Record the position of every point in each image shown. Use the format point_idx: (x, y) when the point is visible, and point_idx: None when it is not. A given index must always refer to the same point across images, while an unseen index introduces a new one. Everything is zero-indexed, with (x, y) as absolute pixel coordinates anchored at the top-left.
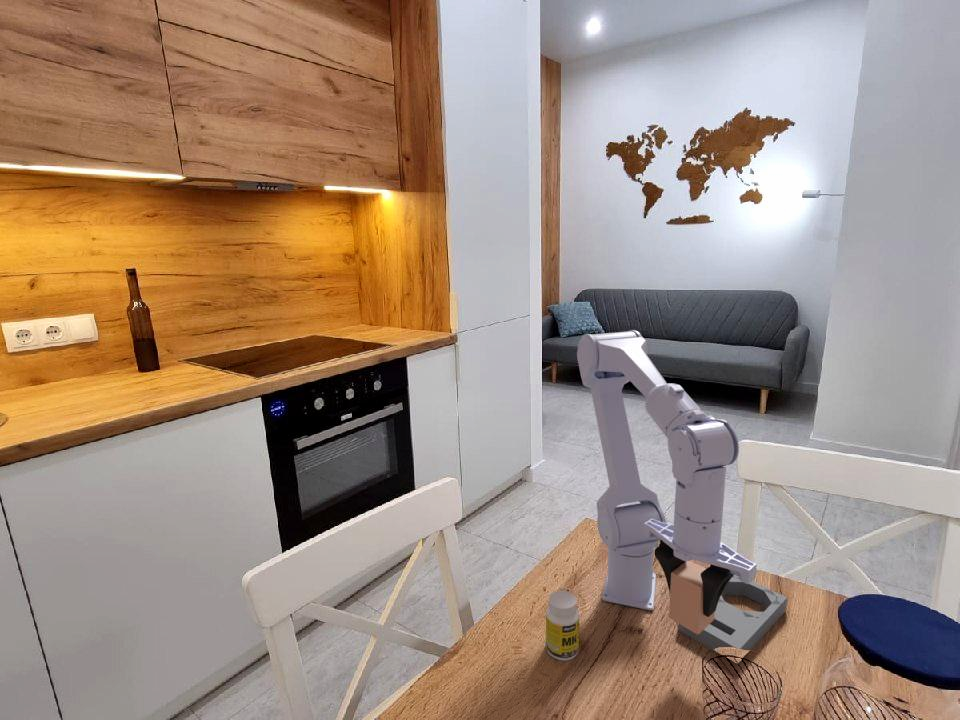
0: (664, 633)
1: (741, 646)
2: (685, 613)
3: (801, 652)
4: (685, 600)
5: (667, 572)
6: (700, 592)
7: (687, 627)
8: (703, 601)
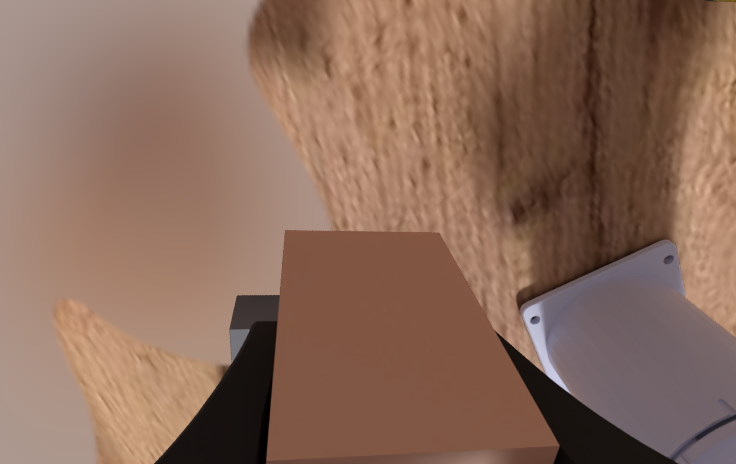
0: (452, 255)
1: (231, 345)
2: (363, 270)
3: (151, 437)
4: (381, 322)
5: (581, 431)
6: (273, 419)
7: (341, 234)
8: (269, 376)
